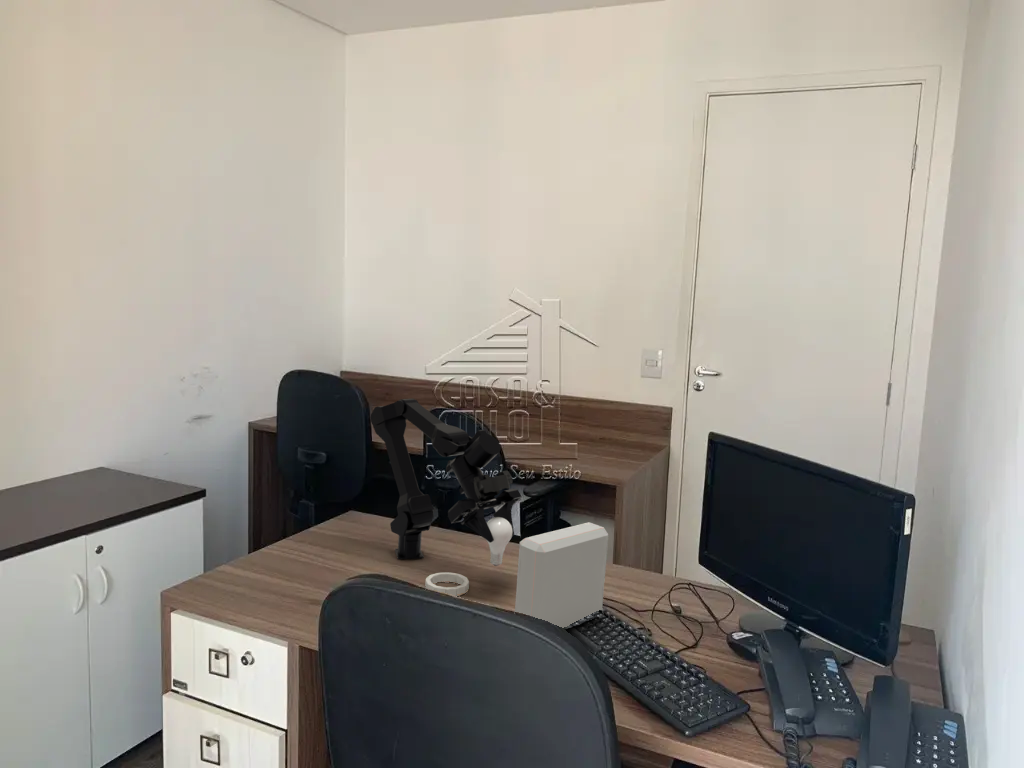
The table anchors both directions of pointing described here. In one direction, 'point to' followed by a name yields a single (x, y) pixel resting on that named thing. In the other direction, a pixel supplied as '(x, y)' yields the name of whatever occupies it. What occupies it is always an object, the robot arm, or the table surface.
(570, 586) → the bevelled white case
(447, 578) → the socket
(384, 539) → the table surface
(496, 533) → the lightbulb
